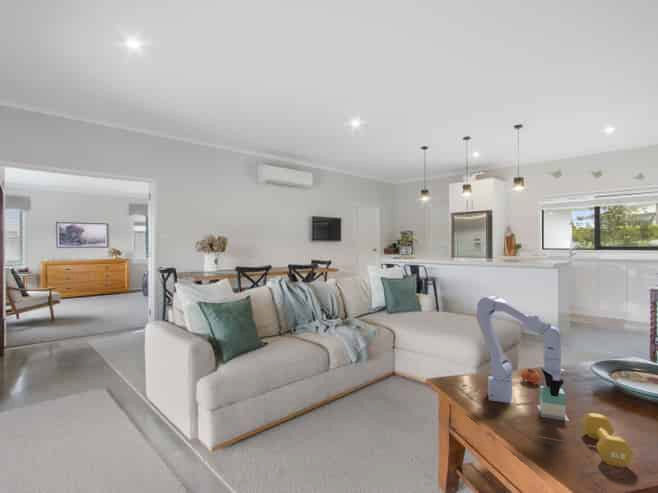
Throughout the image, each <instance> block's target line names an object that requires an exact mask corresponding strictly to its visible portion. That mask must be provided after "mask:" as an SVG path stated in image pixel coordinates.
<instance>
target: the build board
mask: <svg viewBox="0 0 658 493" xmlns="http://www.w3.org/2000/svg"><path fill="white" fill-rule="evenodd" d="M536 406H537V408H538V412H539V414H540V417H542V418H549V419H554V420H560V421H567V422H570V419H569V418H568V415H567V414H566V413H565V417H560V416H553V415H547V414H542V412H541V409H540V404H539V405H538V404H537V405H536Z"/></svg>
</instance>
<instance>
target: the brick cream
mask: <svg viewBox="0 0 658 493" xmlns="http://www.w3.org/2000/svg"><path fill="white" fill-rule="evenodd" d="M539 405H540V409H541V412H542V414H547V415H553V416H560V417H565V414H566V405H565V406H564V405H557V404H550V403H543V402H542V400H541V398H540V397H539Z"/></svg>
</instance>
